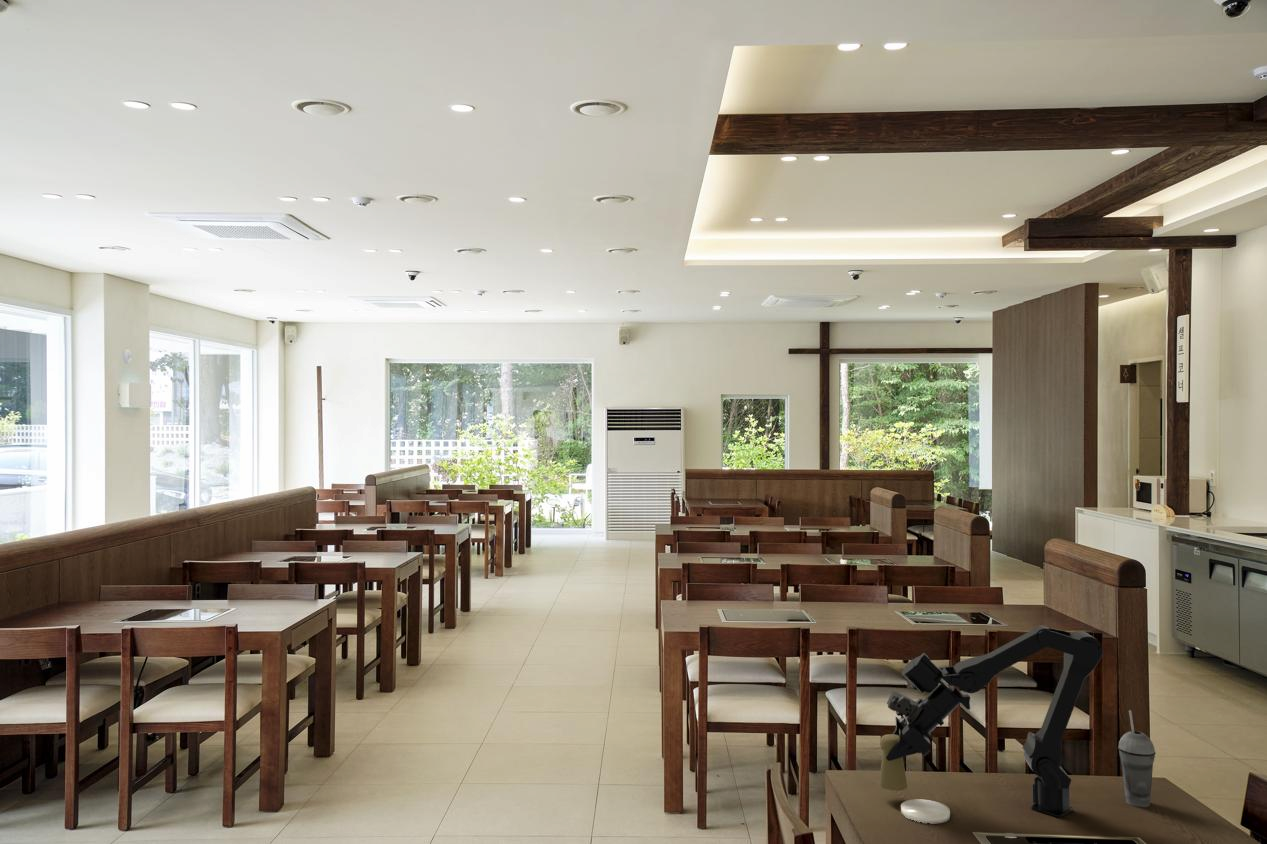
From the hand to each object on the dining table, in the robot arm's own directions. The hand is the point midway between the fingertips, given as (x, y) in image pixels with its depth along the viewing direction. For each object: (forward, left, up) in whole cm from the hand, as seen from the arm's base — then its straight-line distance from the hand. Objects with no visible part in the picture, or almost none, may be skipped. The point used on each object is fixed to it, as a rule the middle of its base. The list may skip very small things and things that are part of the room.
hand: (886, 755), depth 204 cm
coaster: (-10, 0, -10) cm, 14 cm away
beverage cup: (-36, -41, -10) cm, 55 cm away
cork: (-1, -1, -7) cm, 7 cm away
